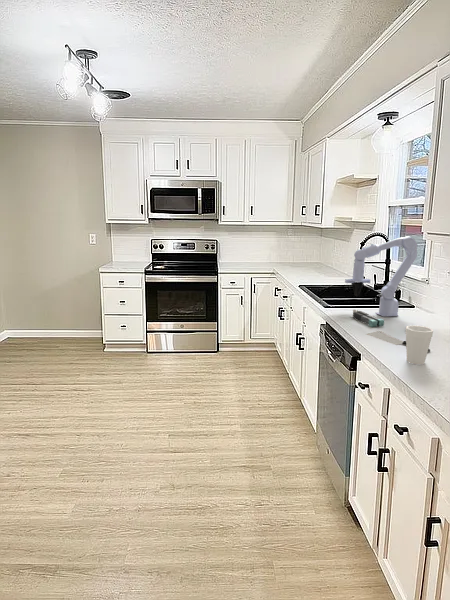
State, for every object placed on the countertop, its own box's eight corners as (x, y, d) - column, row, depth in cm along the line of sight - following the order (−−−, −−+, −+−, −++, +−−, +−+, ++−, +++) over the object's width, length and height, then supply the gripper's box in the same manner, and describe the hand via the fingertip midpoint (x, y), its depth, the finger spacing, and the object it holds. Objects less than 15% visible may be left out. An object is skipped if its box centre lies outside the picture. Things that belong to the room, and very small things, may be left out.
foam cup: (404, 364, 172) (408, 330, 169) (400, 357, 181) (403, 324, 178) (431, 367, 170) (436, 332, 168) (425, 359, 179) (429, 326, 177)
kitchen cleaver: (362, 333, 212) (379, 329, 216) (362, 336, 213) (379, 332, 217) (415, 353, 185) (433, 348, 189) (415, 357, 185) (433, 352, 189)
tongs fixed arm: (351, 318, 244) (352, 312, 243) (356, 318, 245) (357, 312, 244) (371, 327, 226) (372, 320, 225) (377, 326, 227) (377, 320, 226)
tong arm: (351, 316, 248) (352, 309, 247) (358, 315, 249) (359, 309, 248) (376, 326, 227) (376, 319, 226) (383, 326, 228) (384, 319, 227)
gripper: (350, 272, 248) (348, 297, 250) (374, 272, 251) (372, 297, 254) (343, 270, 254) (342, 295, 257) (367, 270, 258) (365, 294, 261)
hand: (356, 295), depth 256 cm, fingers closed
